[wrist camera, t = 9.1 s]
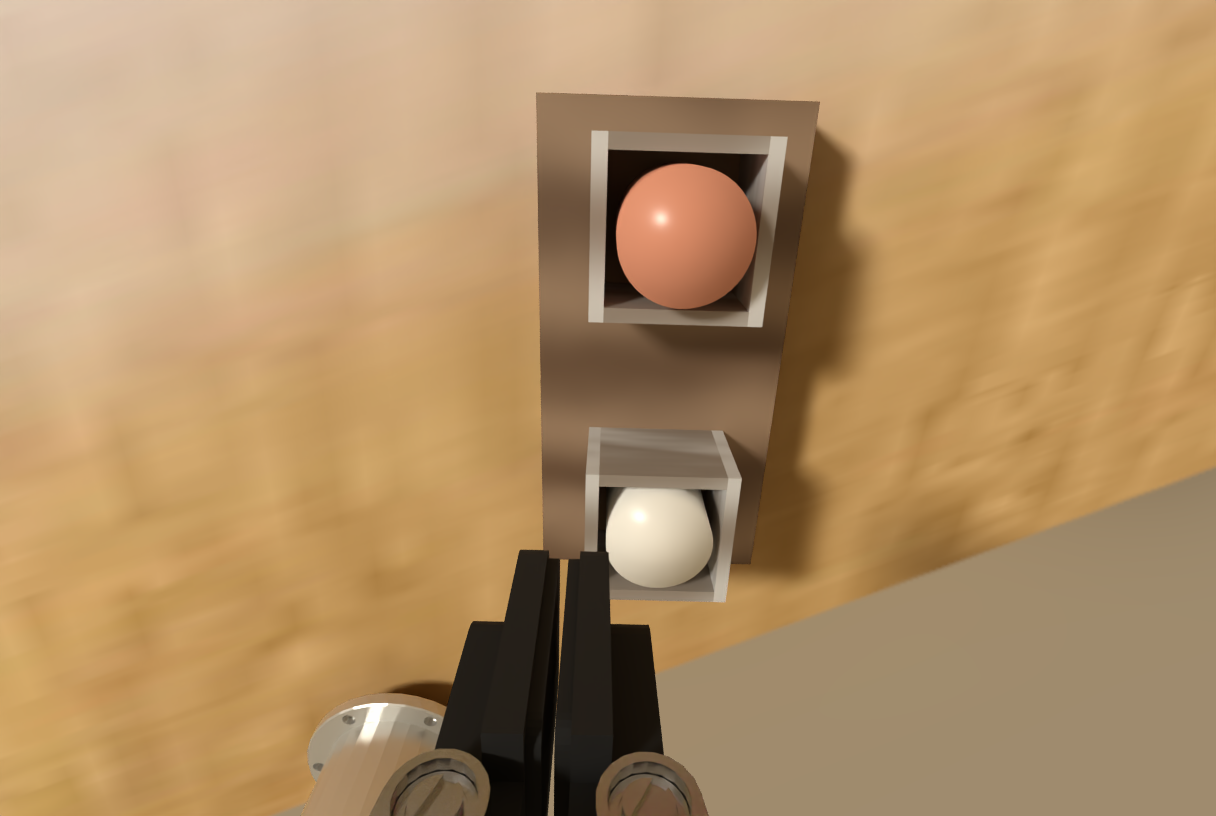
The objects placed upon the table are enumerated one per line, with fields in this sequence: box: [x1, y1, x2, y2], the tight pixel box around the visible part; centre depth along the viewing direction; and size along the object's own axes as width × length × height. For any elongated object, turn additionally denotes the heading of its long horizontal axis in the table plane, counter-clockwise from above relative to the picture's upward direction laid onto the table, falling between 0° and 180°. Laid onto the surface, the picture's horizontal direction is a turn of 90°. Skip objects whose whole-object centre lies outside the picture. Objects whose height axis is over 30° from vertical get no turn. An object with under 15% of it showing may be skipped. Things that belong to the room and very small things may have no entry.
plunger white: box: [606, 487, 713, 588], centre depth 30 cm, size 5×5×5 cm
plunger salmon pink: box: [615, 162, 757, 309], centre depth 24 cm, size 5×5×5 cm
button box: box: [536, 93, 820, 602], centre depth 30 cm, size 24×12×9 cm, turn 178°
